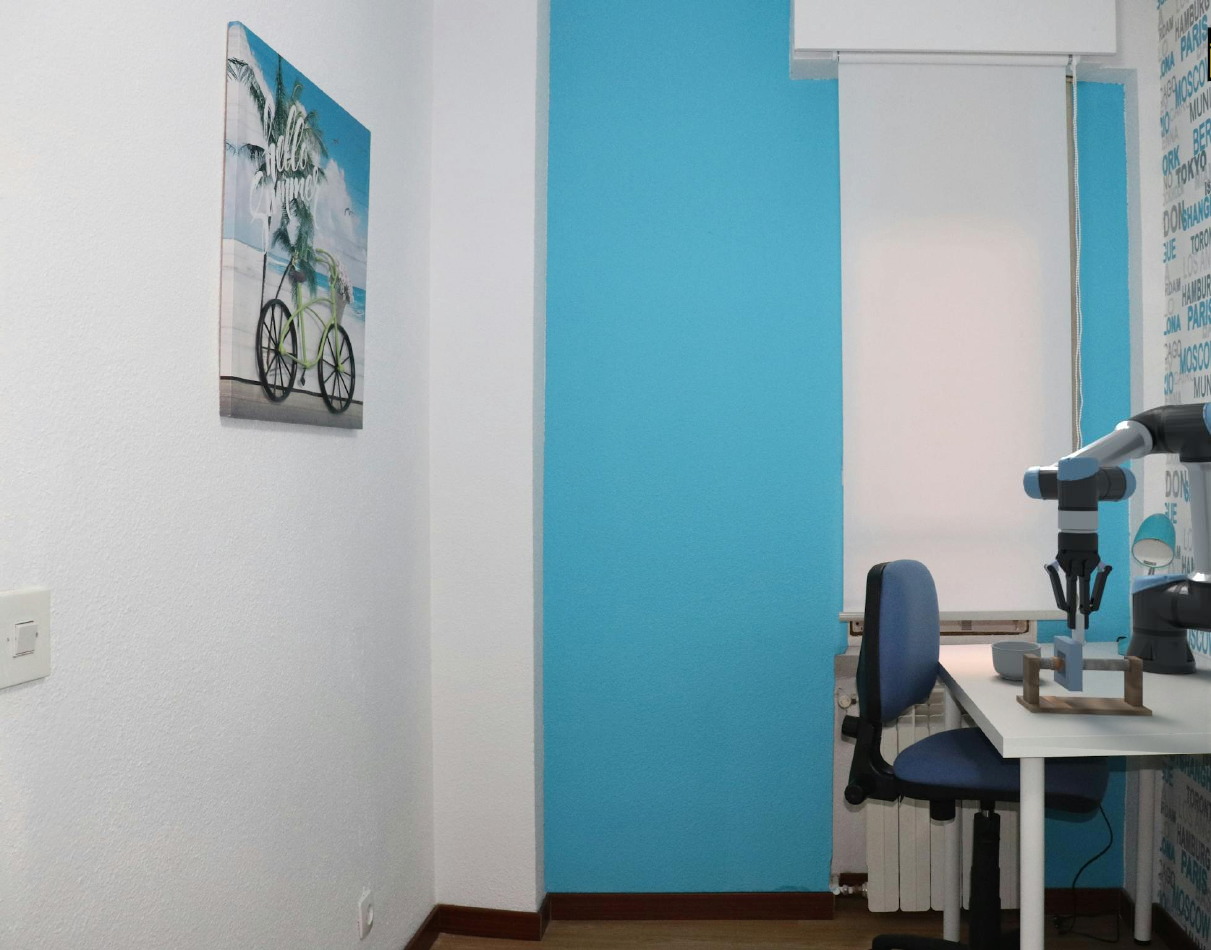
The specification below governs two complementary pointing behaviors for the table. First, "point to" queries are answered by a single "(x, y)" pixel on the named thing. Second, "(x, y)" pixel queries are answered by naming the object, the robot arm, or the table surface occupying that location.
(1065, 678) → the ring
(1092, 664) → the wooden rod stand
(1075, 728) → the table surface
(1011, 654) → the teacup
